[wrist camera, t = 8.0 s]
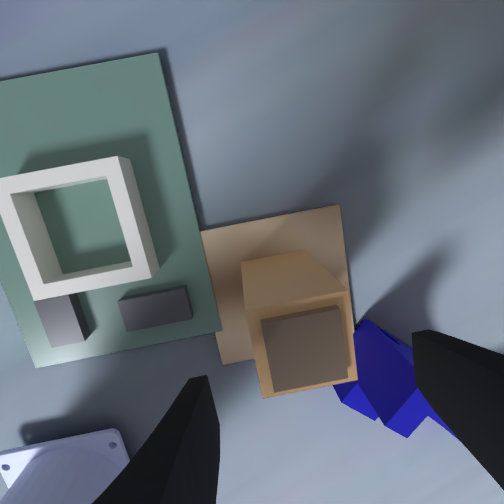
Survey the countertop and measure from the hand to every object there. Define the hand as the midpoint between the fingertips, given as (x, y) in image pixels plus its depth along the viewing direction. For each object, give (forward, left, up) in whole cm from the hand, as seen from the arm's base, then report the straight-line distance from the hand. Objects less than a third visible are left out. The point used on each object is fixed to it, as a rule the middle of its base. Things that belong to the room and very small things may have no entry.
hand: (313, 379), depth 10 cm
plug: (0, 0, -9) cm, 9 cm away
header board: (+6, +10, -9) cm, 15 cm away
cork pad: (0, 0, -9) cm, 9 cm away
